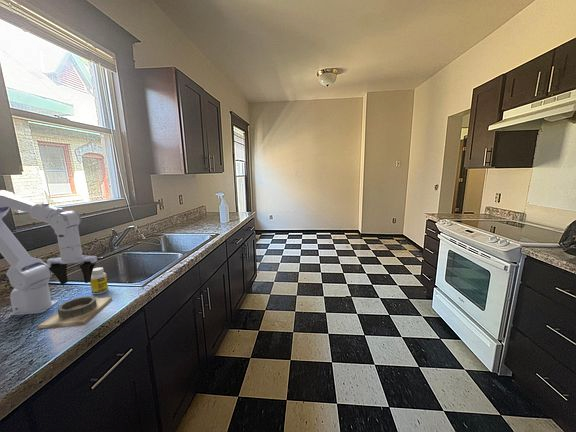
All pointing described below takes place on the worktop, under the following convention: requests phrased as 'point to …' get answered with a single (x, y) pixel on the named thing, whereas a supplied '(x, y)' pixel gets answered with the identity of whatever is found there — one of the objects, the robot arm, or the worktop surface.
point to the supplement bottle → (98, 281)
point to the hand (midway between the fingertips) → (76, 282)
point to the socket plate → (76, 319)
